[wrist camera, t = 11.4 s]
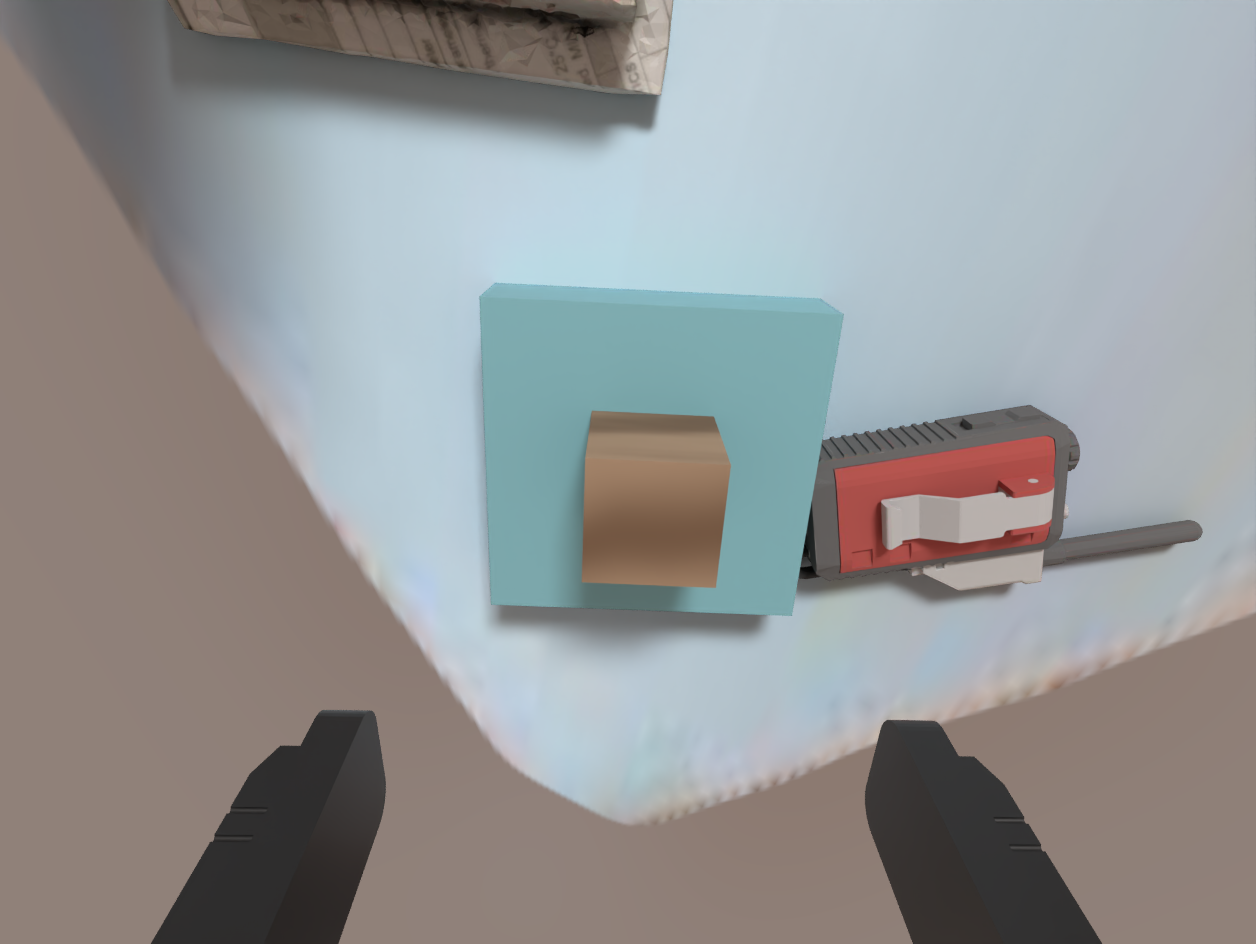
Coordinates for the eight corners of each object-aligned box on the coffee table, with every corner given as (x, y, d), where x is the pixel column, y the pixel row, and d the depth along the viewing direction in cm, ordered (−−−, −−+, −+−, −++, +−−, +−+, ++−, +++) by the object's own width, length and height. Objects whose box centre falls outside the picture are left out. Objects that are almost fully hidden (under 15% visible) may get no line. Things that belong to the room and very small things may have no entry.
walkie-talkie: (783, 593, 36) (1176, 535, 35) (803, 646, 32) (1248, 582, 31) (768, 440, 33) (1203, 369, 32) (788, 477, 29) (1288, 398, 28)
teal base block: (497, 281, 30) (479, 296, 26) (817, 296, 30) (843, 314, 27) (504, 559, 36) (491, 604, 32) (774, 570, 36) (791, 615, 32)
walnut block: (591, 410, 28) (585, 458, 24) (713, 416, 28) (731, 465, 24) (588, 519, 30) (581, 582, 26) (702, 524, 30) (715, 587, 26)
